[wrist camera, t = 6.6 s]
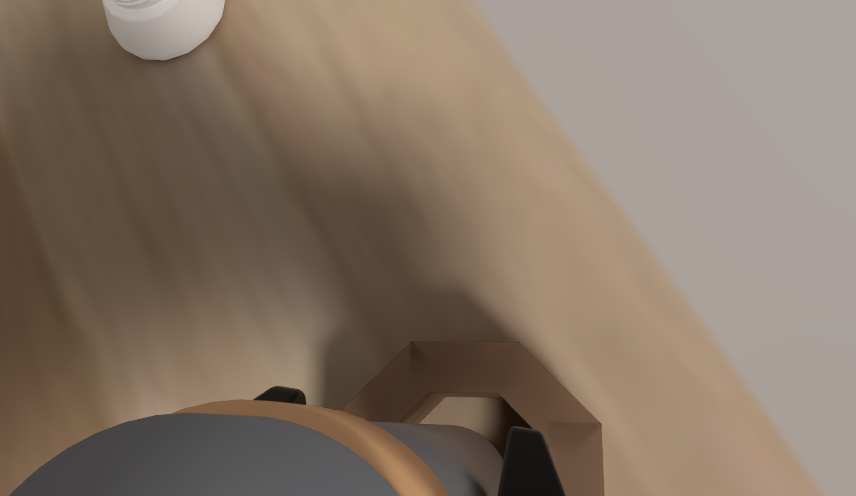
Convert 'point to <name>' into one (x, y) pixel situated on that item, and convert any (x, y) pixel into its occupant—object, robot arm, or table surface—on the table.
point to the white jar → (162, 25)
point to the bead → (497, 378)
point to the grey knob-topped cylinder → (271, 456)
